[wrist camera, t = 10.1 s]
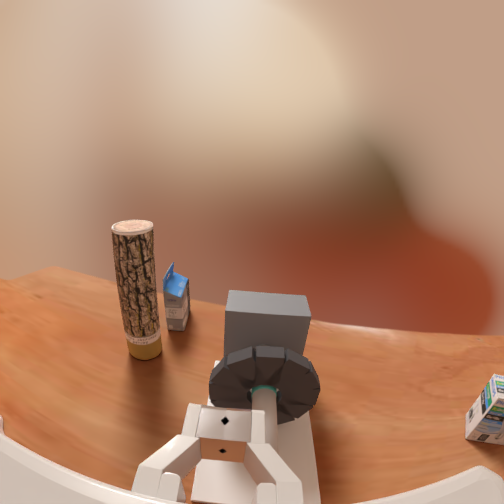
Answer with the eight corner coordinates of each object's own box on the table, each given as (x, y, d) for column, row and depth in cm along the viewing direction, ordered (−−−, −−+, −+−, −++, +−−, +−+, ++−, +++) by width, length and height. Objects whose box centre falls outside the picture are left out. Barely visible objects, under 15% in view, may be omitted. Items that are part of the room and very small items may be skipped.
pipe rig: (191, 501, 25) (175, 445, 19) (215, 363, 51) (216, 288, 45) (319, 505, 25) (364, 449, 19) (301, 369, 51) (317, 296, 46)
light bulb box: (464, 440, 31) (497, 398, 27) (464, 414, 36) (492, 372, 33) (505, 445, 26) (539, 405, 22) (503, 421, 32) (532, 381, 28)
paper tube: (168, 354, 52) (160, 227, 43) (137, 366, 48) (118, 235, 39) (152, 336, 57) (143, 217, 48) (123, 346, 52) (106, 223, 43)
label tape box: (184, 332, 59) (182, 280, 55) (165, 330, 59) (161, 278, 55) (190, 310, 67) (189, 262, 63) (174, 308, 67) (172, 261, 63)
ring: (210, 421, 36) (208, 352, 31) (211, 411, 38) (210, 341, 33) (306, 426, 36) (330, 359, 31) (305, 416, 38) (327, 348, 33)
